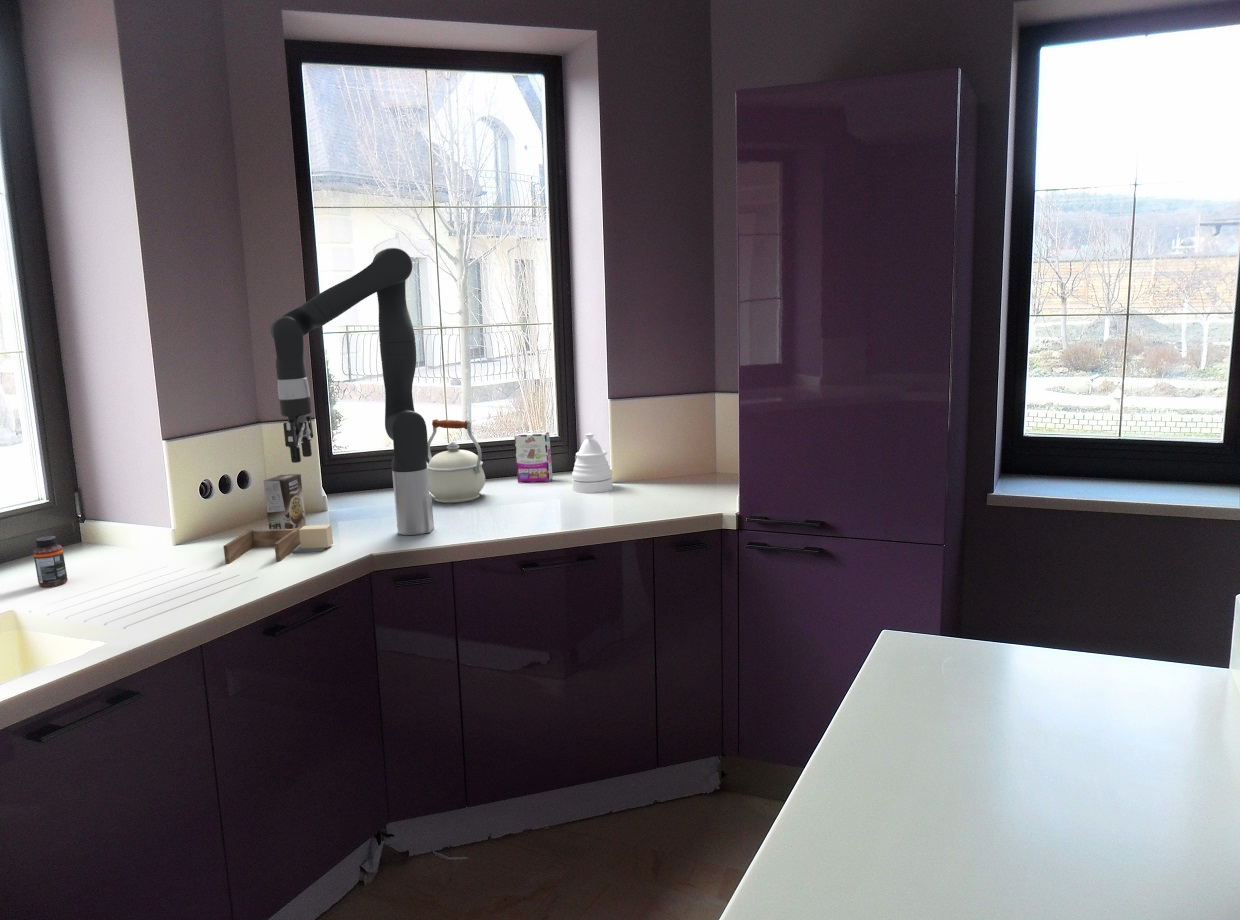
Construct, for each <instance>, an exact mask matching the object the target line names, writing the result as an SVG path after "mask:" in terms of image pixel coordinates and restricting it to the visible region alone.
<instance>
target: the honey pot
mask: <svg viewBox="0 0 1240 920" xmlns="http://www.w3.org/2000/svg"><path fill="white" fill-rule="evenodd" d="M585 438H586V439H584V440H583V442H582V443H581V445H580V448H579V451H577V452H576V453H575V456H576V460H575V462H574V467H573V471H572V472H571V481H572V491H573V492H576V493H580V494H581V493H582V494H596V493H605V492H608V491H611V490H613V487H614V484H613V472H612V470H611V469H610V468H611V467H610V466H611V465H609V461H608V460H607V458H606V455H607V454H608V452H607V451H606V450H604V449H603V448H602V447H601V445H600V444H599V442H598V441H597V440H596V438H594V433H585Z"/></svg>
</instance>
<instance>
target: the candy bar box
mask: <svg viewBox="0 0 1240 920" xmlns="http://www.w3.org/2000/svg"><path fill="white" fill-rule="evenodd" d="M550 438H551V437H550V432H548V431H547V432H546V431H544V432H521V433H520V432H519V433H516V434H515V435H514V445H515V461H516V473H517V474H516V475H517V483H521V484H522V483H526V484H527V483H550V482H551V481H552V480H553V467H552V455H551V454H552V453H551V452H552V451H551V440H550Z"/></svg>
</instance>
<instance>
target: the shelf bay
mask: <svg viewBox="0 0 1240 920" xmlns="http://www.w3.org/2000/svg"><path fill="white" fill-rule="evenodd" d="M299 529H301V528H295V529H279V530H269V529H262V530H261V529H259V530H253V529H248V530H247V531H245V532H243V533H241V534H240V535H239V536H237V537H236V538H234V539H232V540H231V541H229V542H227V543H226V544H225V545H223V553H224V559H225V560H224V562H225V564H226V565H229V564H231V563H233V562H235V560H237V559H238V558H240V557H241V556H243V555H244V554H246V553H247V552H248V551H250V550H252V549H253V548H255V547H270V546H271V547H273V546H274V552H275V553H274V554H275V561H276V562H281V561H283V560H284V559H285V558H286V557H287V556H288V555H290V554H292V550H294V549H295V548H296V547H298V546H299V545H300V544H301V542H300V533H299Z"/></svg>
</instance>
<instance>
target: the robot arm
mask: <svg viewBox="0 0 1240 920" xmlns="http://www.w3.org/2000/svg"><path fill="white" fill-rule="evenodd" d="M412 271H413V261H412V258H411V256H410V255H409V253H407V252H406V251H405V250H403V249H401V248H397V247H388V248H385V249H381V250H380V251H378V252H377V253H376V254H375V255H374V257H373V259H372V262H370V264H369V265H367V266H366V267H365V268H363V269H362V270H360V271H359V272H357V273H355V274H354V275H353V276H352V275H351V276H350V277H349V278H347V279H345V280H342V281H341V282H339V283H337V284H335V285H333V286H331V287H329V288H327V289H325V290H324V291H322V292H320V293H318V294H316V295H315V296H314V297H312V298H310V299H309V300H307V301H305V302H304V303H303V304H302V305H301V306H298V307H296V308H295V309H292V310H290V311H288V312H287V313H285V314H283V315H281V316H279V317H278V318H277V319H275V320H274V321H273V322H272V323H271V326H270V334H271V337H272V338H273V342H274V347H275V355H276V359H275V369H276V377H277V393H278V401H279V410H280V411H279V412H280V416H282V417H287V419H288V421H287V422H283V424H282V425H283V436H284V442H285V443H284V445H285V447H288V449H289V451H290V452H289V453H290V458H291V460H290V461H291V463H293V464H294V463H295V464H297V463H301V462H302V457H303V458H305V457H306V458H308V457H309V458H310V457H312V455H313V453H312V452H313V451H312V443H311V442H312V440H313V438H314V431H313V423H312V418H311V417H312V416H311V414H312V412H313V408H312V402H311V400H312V399H311V393H310V385H309V382H308V381H309V380H308V376H307V369H306V361H305V356H304V355H305V352H304V351H305V350H304V347H305V345H304V337H305V336H306V335H307V334H309V333H310V332H312V331H313V330H315V329H317V328H320V327H322V326H325V325H327V324H328V323H330V322H331V321H332V320H334V319H336V318H338V317H339V316H341V315H342V314H343V313H345V312H347V311H348V310H351V308H352V307H354V306H356V305H357V304H359V303H360V302H361V301H363V300H365V299H367V298H368V297H370V296H372V295H374V294H375V293H376V297H377V303H378V304H377V305H378V335H379V336H378V337H379V338H378V340H379V350H380V360H381V369H382V379H383V384H384V395H385V397H384V398H385V399H384V400H385V402H384V403H385V404H384V405H385V406H384V409H385V410H384V429H385V432H386V434H387V436H388V438H390V439H391V440H392V442H393V458H392V459H391V472H392V473H391V474H392V483H393V494H394V495H393V496H394V503H395V504H394V505H395V506H394V507H395V516H396V527H397V534H399V535H403V536H415V535H416V536H417V535H423V534H427V533H428V534H430V533H431V532H432V531H433V530H434V529H435V524H434V523H435V522H434V511H433V510H434V509H433V500H432V499H433V498H432V494H431V493H430V492H429V485H428V474H427V463H428V460H429V458H428V441H429V439H428V429H427V424H426V421H425V418H424V417H423V415H421V414H420V413H419V412H417V411H415V405H414V399H413V382H414V377H415V374H416V368H417V343H416V336H415V335H416V334H415V329H414V325H413V323H412V319H411V316H410V313H409V309H408V305H407V297H406V296H407V295H406V284H407V283H406V280H408V278H409V277H410V275H411V274H412ZM300 445H301V448H300ZM301 452H302V455H301Z"/></svg>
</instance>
